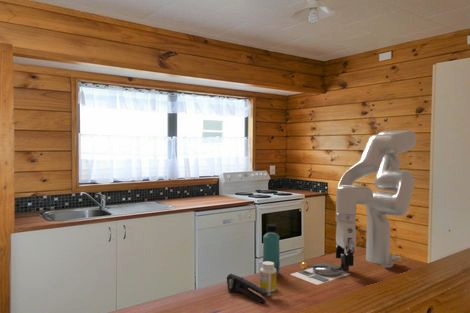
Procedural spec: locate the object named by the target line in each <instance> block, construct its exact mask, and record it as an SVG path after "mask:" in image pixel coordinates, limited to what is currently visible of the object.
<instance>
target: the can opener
mask: <svg viewBox="0 0 470 313" xmlns="http://www.w3.org/2000/svg"><path fill="white" fill-rule="evenodd" d="M226 285H227V290H228V291H230V292H234V293H235V292H239V293H242V294H244V295H246V296H248V297H249V298H251V299H252V300H254V301H255V300H257V301H256V302H258V301H260V302H265V303H266V302H267V301H266V299H265V298H263V297H267V296H266V295H267V293H266V292H265V291H264V290H263V289H261V288H260V286H258V285H256V284H254V283H253V282H251V281H249V280H247V279H245V278H244V277H243V276H239V275H236V274H233V273H229V274H227V277H226ZM255 292H256V293H255ZM258 294H259V295H258ZM262 296H263V297H262ZM260 302H259V303H260Z"/></svg>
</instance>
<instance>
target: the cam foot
mask: <svg viewBox="0 0 470 313" xmlns="http://www.w3.org/2000/svg"><path fill="white" fill-rule="evenodd" d="M345 255H346V253H345V252H344V253H341V258H340V265H338V264H335V263H329V262H317V263H316V262H315V263H313V264H308V263H307V262H304V261H303V262H301V264H300V267H301V269H303V270H307V269H308V268H313V272H315V273H317V274H320V275H324V276H338V275H341V274H342V271H344V272H348V271H350V266H345V265H344V263H345Z"/></svg>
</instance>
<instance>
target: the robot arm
mask: <svg viewBox="0 0 470 313" xmlns="http://www.w3.org/2000/svg"><path fill="white" fill-rule="evenodd" d="M416 144H417V134H416V133H415V132H414V131H413V130H412V129H411V130H410V129H404V130H403V129H401V130H400V129H399V130H385V131H380V132H377V133H376V134H373V135H371V136H370V137H369V138H368V139H367V141H366V144H365V146H364V149H363V151H362V154H361V157H360V159H359V161H358V162H356V163H355V164H354V165H352V166H351V167H349V169H348V170H346V171H345V172H344V173H343V174H342V176H341V178H340V180H339V182H338V185H337V187H336V192H335V193H336V199H335V200H336V201H335V222H336V227H335V228H336V229H335V242H336V245H335V258H336V259H341V253H346V255H345V263H344V265H345V266H349V267H353V266H354V255H355V250H356V248H357V229H356V222H357V205H362V206H363V205H364V206H365V214H366V236H365V237H366V240H365V241H366V242H365V243H366V245H365V249H366V250H365V254H366V255H365V260H366V261H367V262H369V263H371V264H377V265H379V266H381V267H382V268H383V269H390V268H393V267H394V261H396V262H397V261H399V262H401V261H402V257H401V256H400V255H395V254H391V253H390V251H391V250H390V248H391V222H390V219H389V218H388V216H393V217H404V216H405V215H406V214H407V213H408V211H409V208H410V203H411V200H412V196H413V192H414V187H415V177H414V175H413V173H412V172H410V171H408V170H404V169H402V170H401V169H400V168H401V159H400V157H399V156H398V154H402V153H403V154H404V153H405V152H408V151H410V150H412V149H413V148H415V146H416ZM375 173H376V174H375ZM372 174H375V179H374V186H375V188H376V189H378V190H379V191H377V190H375V191H374V190H372V188H370V187H369V186H366V185H359V184H354V183H355V182H356V181H357V180H359V179H362V178H363V177H367V176H370V175H372ZM380 190H381V191H380Z"/></svg>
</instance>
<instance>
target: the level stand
mask: <svg viewBox="0 0 470 313" xmlns="http://www.w3.org/2000/svg"><path fill="white" fill-rule="evenodd" d="M289 275H290V276H293V277H296V278H298V279H301V280H303V281H306V282H308V283H311V284H314V285H316V286H318V285H321V284H325V283H327V282H331V281H334V280H336V279H339V278H342V277H346V276H348V275H351V273H350V272H348V271H342V274H341V275H338V276H324V275H320V274H317V273H315V272H313V267H309V268H307V269H303V270H299V271H297V272H293V273H290V274H289Z"/></svg>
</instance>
